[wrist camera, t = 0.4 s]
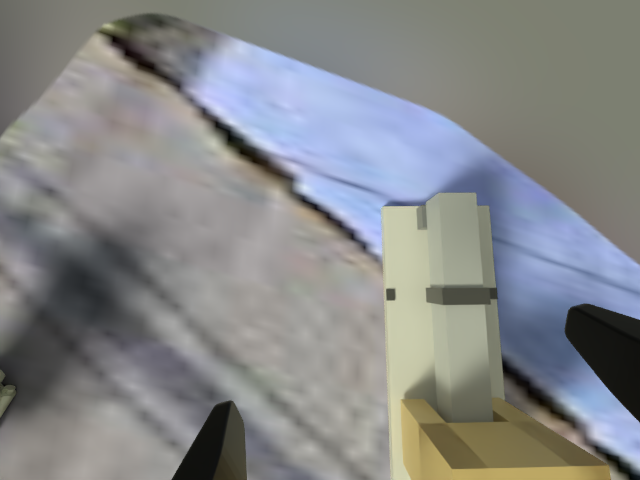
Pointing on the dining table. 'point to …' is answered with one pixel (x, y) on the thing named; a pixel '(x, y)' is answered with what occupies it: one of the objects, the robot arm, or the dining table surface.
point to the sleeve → (490, 448)
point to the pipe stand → (440, 313)
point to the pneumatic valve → (5, 394)
